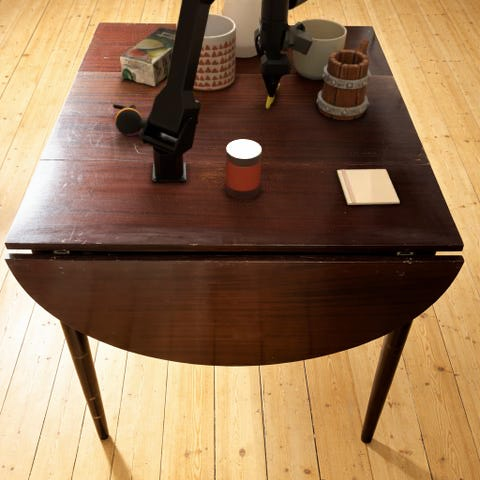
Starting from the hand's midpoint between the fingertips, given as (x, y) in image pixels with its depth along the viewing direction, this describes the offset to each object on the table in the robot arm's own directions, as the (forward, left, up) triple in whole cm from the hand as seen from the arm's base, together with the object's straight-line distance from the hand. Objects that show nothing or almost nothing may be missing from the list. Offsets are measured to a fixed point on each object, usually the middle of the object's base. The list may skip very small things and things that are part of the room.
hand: (269, 88), depth 139 cm
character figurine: (-10, +31, -4) cm, 33 cm away
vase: (+12, +14, -4) cm, 19 cm away
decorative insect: (+1, 0, -3) cm, 3 cm away
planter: (+14, -13, -4) cm, 19 cm away
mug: (-2, -17, -4) cm, 18 cm away
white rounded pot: (+28, +4, -4) cm, 28 cm away
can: (-34, +9, -3) cm, 35 cm away
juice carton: (+18, +26, -4) cm, 32 cm away
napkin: (-34, -16, -3) cm, 38 cm away
